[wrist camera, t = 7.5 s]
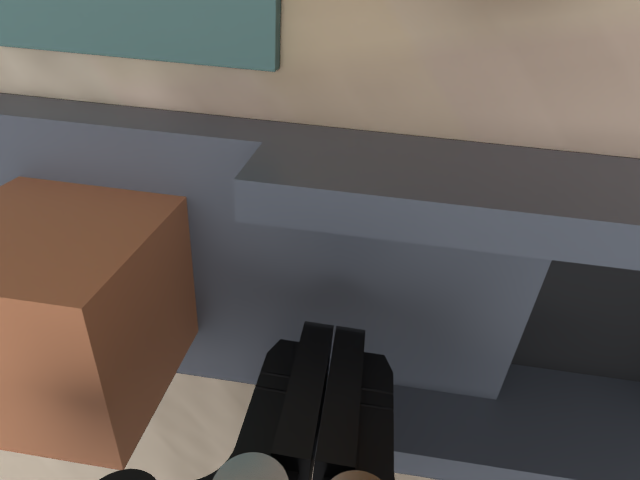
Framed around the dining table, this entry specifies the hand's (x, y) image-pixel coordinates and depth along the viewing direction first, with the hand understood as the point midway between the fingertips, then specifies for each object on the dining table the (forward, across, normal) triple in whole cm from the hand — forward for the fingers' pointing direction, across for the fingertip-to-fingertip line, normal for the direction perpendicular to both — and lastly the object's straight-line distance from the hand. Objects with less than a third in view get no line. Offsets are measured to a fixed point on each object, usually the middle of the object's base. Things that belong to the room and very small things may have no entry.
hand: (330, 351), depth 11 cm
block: (+3, +7, 0) cm, 8 cm away
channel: (+5, -2, 0) cm, 5 cm away
